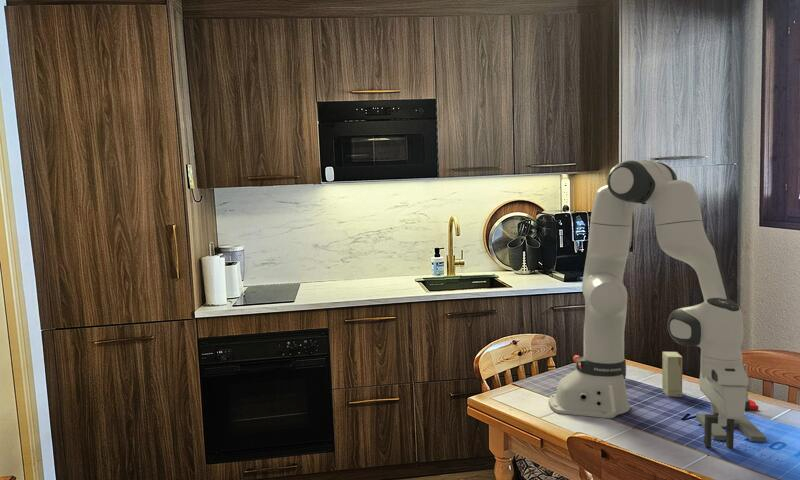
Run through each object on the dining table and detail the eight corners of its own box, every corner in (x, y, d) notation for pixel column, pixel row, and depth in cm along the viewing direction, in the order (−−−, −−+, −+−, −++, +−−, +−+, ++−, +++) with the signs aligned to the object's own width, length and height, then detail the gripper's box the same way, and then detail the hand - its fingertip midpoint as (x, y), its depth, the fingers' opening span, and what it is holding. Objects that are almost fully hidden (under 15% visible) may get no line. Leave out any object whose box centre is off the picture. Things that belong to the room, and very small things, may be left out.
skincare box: (682, 397, 181) (683, 357, 180) (667, 397, 182) (667, 357, 180) (676, 390, 187) (677, 351, 186) (661, 389, 188) (662, 350, 187)
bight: (706, 447, 147) (707, 417, 147) (704, 443, 149) (704, 414, 149) (733, 448, 146) (734, 418, 146) (730, 445, 148) (731, 415, 148)
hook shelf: (714, 439, 152) (715, 390, 151) (695, 417, 166) (696, 372, 164) (766, 441, 150) (767, 391, 149) (743, 419, 164) (744, 373, 163)
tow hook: (717, 400, 179) (729, 410, 170) (718, 356, 179) (730, 364, 170) (748, 400, 178) (762, 411, 169) (748, 357, 177) (762, 365, 168)
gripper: (693, 354, 157) (692, 406, 158) (721, 380, 137) (719, 439, 138) (719, 354, 156) (718, 407, 157) (752, 381, 135) (749, 440, 137)
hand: (719, 422), depth 147 cm, fingers closed on bight, 2 cm apart
